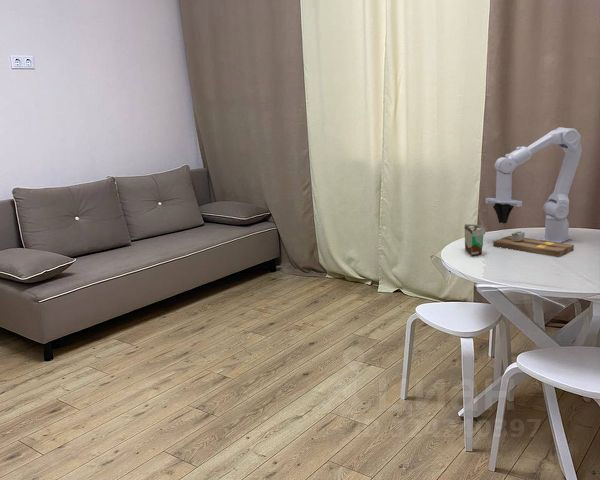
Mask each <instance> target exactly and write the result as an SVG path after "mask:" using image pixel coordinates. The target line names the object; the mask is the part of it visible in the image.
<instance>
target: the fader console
mask: <svg viewBox="0 0 600 480" xmlns="http://www.w3.org/2000/svg"><path fill="white" fill-rule="evenodd" d="M511 236H512V235H507V236H504V237H501V238H498V239H496V240H494V241H493V243H492V247H493V248H500V247H501V248H502V249H506V248H508V249H507V250H512V249H513V250H514V251H518V250H519V252H524V251H525V252H526V253H532V254H538V255H542V256H543V255H544V256H550V257H555V258H559V257H562V256H564V255H566V254H568V253H570V252H573V251H574V247H575V246H574V244H571V243H564V242H561V243H557V242H550V241H543V240H540V239H535V238H529V237H524V240H521V241H512V240H511ZM501 248H500V249H501ZM525 252H524V253H525Z"/></svg>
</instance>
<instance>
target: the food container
mask: <svg viewBox="0 0 600 480" xmlns="http://www.w3.org/2000/svg"><path fill="white" fill-rule="evenodd" d="M463 227H464V251H465V252H466V253H467V254H468V255H469V256H470V257H479V256H481V255H482V253H483V252H482V251H483V244H484V235H486V229H485V227H484V226H483V225H479V224H473V223H472V224H471V223H469V224H468V223H467V224H464V226H463Z"/></svg>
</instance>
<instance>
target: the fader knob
mask: <svg viewBox="0 0 600 480" xmlns="http://www.w3.org/2000/svg"><path fill="white" fill-rule="evenodd" d="M510 236H511V240H512V241H521V240H524V238H525V231H519V230H518V231H517V230H516V231H514V232H512V233H511V235H510Z"/></svg>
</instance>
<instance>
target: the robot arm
mask: <svg viewBox="0 0 600 480" xmlns="http://www.w3.org/2000/svg"><path fill="white" fill-rule="evenodd" d="M581 138H582V136H581V133H579V131H578V130H577V129H576V128H573V127H572V128H571V127H570V128H566V127H562V126H559V127H557V128H555V129H553V130H550V131H549V132H548V133H547V134H545V135H543V136H542V137H540V138H539V139H536V140H535V141H534V142H533V143H531V144H530V145H528V146H517V147H516V148H515V150H513V151H511V152H510V153H506V154H505V155H504V156H505V157H504V156H503V157H502V156H501V157H499V158H497V159H496V161H495V162H494V163H495V164H493V166H494V167H493V168H494V169H495V171H496V176H495V177H496V181H495V182H496V183H495V184H496V185H495V197H486V198H485V204H491V205H492V204H494V205H493V206H492V208H493V210H494V211H495V213H496V216H497V219H498V223H499V224H501V223H502V224H507V223H508V219H509V217H510V214H511V212H512V210H513V209H514V207H518V208H519V207H523V201H522V200H517V199H512V191H513V190H512V188H513V187H512V183H513V172H514V171H515V168H517V167H519V166H520V165H521V166H522V164H524V163H527V162H528V161H529V160H531V158H532V155H533V154H535V153H537V152H538V151H540V150H543V149H544V148H546V147H548V146H551V145H558V146H560V147H561V149H562V150H563V152H564V153H565V154H564V158H563V161H562V164H561V167H560V169H559V174H558V177H557V180H556V182H555V186H554V189H553V192H552V193H551V194H550V195H549V196H548V198H547V201H545V203H544V205H543V212H544V213H545V226H544V227H545V228H544V237H542V238H541V239H539V240H543V241H550V242H557V243H564V242H567V241H568V240H570V239H571V237H569V229H570V228H569V226H570V225H569V220H568V218H567V217H568V216H569V212H570V208H569V207H570V206H569V205H570V199H569V192H570V189H571V187H572V184H573V181H574V178H575V175H576V172H577V168H578V166H579V162H580V159H581V156H582V151H583V149H582V143H581Z"/></svg>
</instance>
